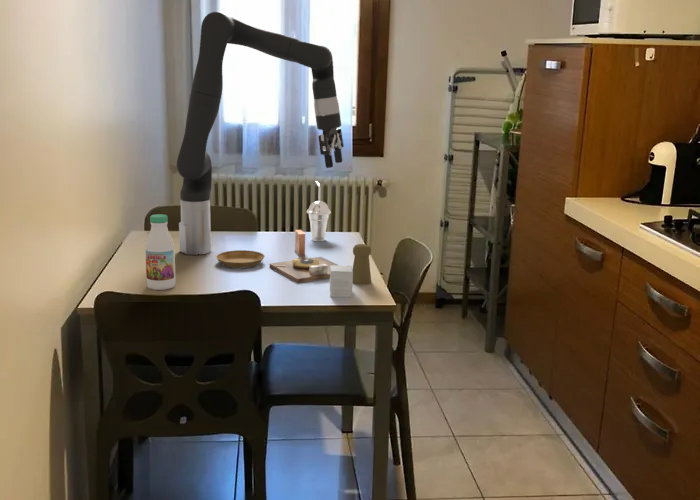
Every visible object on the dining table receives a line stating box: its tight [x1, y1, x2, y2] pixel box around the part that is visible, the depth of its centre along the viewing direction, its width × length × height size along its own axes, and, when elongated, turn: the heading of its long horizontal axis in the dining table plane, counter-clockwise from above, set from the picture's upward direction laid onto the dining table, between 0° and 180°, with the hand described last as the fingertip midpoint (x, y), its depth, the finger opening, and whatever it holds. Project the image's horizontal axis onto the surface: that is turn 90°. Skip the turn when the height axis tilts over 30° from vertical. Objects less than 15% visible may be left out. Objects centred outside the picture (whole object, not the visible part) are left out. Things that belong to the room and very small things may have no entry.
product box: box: [329, 264, 354, 298], centre depth 209 cm, size 6×6×7 cm
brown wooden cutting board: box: [269, 256, 338, 284], centre depth 229 cm, size 18×18×4 cm
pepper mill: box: [352, 243, 372, 286], centre depth 220 cm, size 6×6×11 cm
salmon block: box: [291, 229, 319, 268], centre depth 232 cm, size 14×8×8 cm, turn 17°
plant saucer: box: [215, 249, 265, 269], centre depth 236 cm, size 15×15×3 cm
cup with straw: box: [306, 180, 332, 242], centre depth 266 cm, size 8×9×20 cm
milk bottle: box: [145, 213, 177, 291], centre depth 209 cm, size 8×8×20 cm
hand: (334, 165), depth 238 cm, fingers open, 8 cm apart
